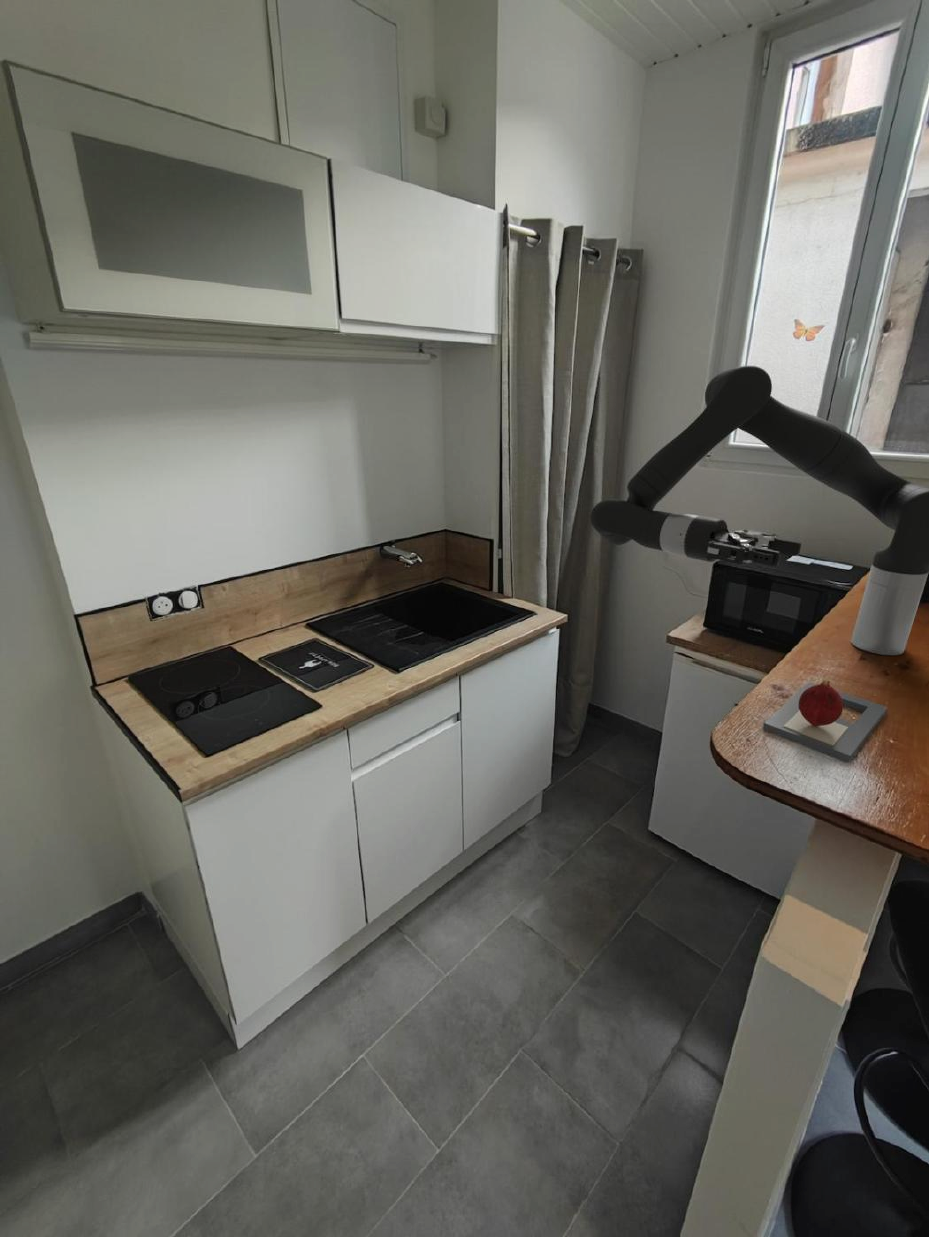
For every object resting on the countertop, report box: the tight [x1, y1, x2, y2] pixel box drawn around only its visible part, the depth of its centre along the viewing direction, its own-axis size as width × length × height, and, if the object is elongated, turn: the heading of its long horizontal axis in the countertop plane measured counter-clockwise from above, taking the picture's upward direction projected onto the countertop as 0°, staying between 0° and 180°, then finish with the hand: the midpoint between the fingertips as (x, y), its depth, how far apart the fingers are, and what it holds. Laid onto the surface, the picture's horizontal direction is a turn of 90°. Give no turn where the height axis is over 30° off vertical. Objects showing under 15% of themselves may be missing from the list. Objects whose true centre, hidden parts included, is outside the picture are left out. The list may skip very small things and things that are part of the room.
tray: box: [762, 681, 889, 764], centre depth 92 cm, size 20×12×1 cm, turn 133°
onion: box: [799, 678, 844, 727], centre depth 87 cm, size 6×6×8 cm
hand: (789, 554), depth 90 cm, fingers open, 8 cm apart
